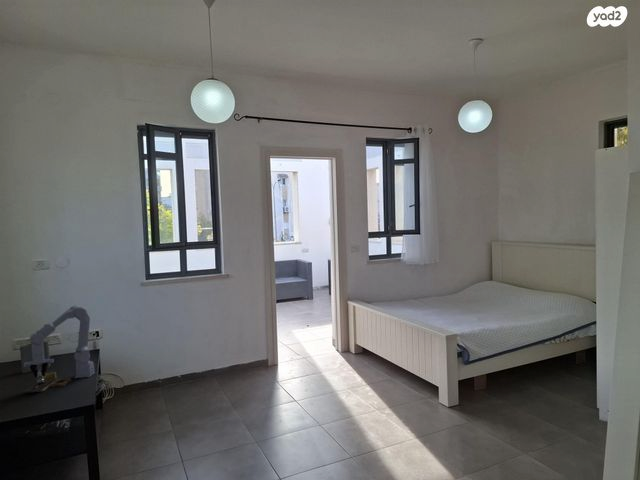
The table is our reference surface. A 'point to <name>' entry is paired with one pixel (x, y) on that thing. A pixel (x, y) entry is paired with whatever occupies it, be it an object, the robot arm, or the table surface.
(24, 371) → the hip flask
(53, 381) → the socket board
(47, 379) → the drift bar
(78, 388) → the table surface
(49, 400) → the table surface
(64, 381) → the frame
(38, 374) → the steel peg
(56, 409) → the table surface
